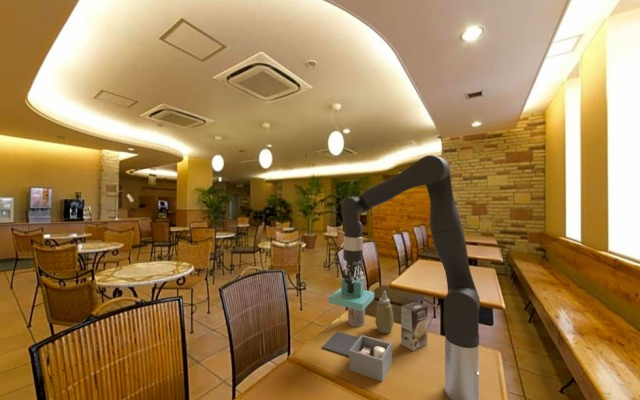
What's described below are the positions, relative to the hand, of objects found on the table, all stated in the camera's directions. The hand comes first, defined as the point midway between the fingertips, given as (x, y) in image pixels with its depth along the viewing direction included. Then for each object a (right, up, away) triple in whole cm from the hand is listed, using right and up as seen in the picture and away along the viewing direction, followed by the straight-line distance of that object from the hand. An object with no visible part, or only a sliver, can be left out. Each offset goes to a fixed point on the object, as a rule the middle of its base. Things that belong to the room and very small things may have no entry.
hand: (352, 291), depth 106 cm
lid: (0, -4, 0) cm, 4 cm away
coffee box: (+26, -24, +5) cm, 36 cm away
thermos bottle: (+5, -24, +24) cm, 34 cm away
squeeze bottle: (+17, -24, +17) cm, 34 cm away
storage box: (+6, -24, -8) cm, 26 cm away
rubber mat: (-2, -24, +6) cm, 25 cm away
